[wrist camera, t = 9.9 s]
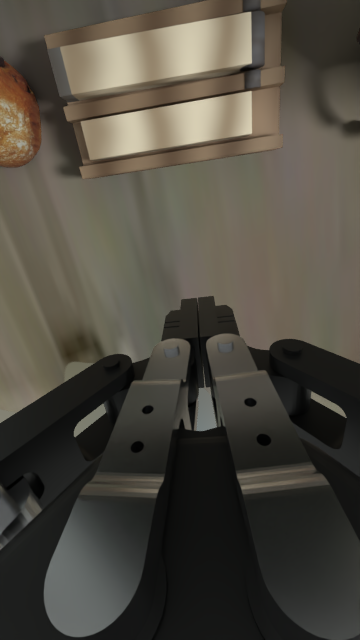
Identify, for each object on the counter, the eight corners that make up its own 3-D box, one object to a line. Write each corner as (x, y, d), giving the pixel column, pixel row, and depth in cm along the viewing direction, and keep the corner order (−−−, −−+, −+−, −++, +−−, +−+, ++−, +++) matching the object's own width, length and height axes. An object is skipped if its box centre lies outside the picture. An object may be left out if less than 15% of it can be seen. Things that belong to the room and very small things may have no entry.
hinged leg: (260, 22, 26) (268, 8, 24) (260, 69, 27) (267, 60, 25) (57, 59, 27) (46, 49, 25) (68, 102, 28) (59, 96, 26)
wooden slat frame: (275, 8, 27) (290, -24, 23) (272, 150, 33) (285, 146, 28) (61, 51, 29) (39, 30, 25) (93, 178, 35) (79, 179, 30)
